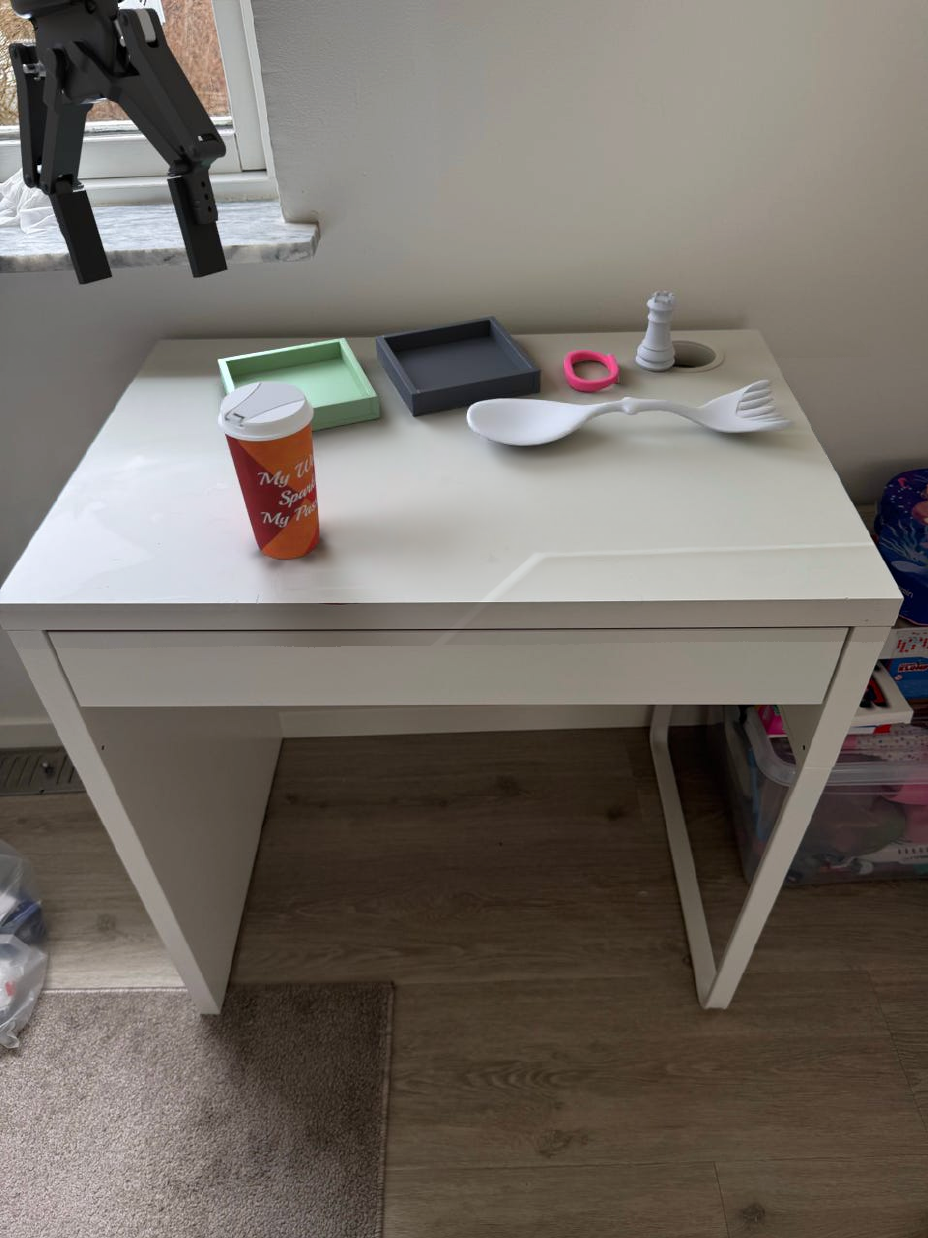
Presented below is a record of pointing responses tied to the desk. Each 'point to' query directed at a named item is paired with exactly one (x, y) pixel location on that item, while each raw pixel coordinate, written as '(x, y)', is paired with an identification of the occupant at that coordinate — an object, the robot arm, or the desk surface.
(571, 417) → the spoon
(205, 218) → the robot arm
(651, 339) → the rook chess piece
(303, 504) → the paper cup
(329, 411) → the sage tray
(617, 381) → the fitness band
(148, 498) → the desk surface
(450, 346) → the charcoal tray
